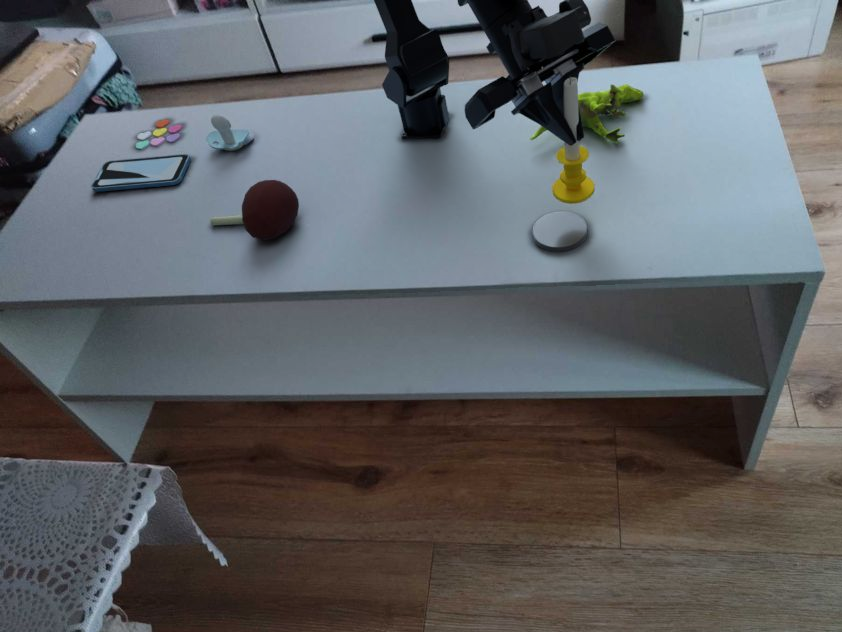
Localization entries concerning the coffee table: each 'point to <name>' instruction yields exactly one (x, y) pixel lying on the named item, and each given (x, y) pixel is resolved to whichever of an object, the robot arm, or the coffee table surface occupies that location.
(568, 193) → the candle
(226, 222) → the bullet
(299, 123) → the coffee table surface
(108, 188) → the smartphone
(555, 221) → the coaster
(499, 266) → the coffee table surface
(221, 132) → the pacifier
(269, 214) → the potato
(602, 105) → the dinosaur figurine
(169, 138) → the candy hearts
